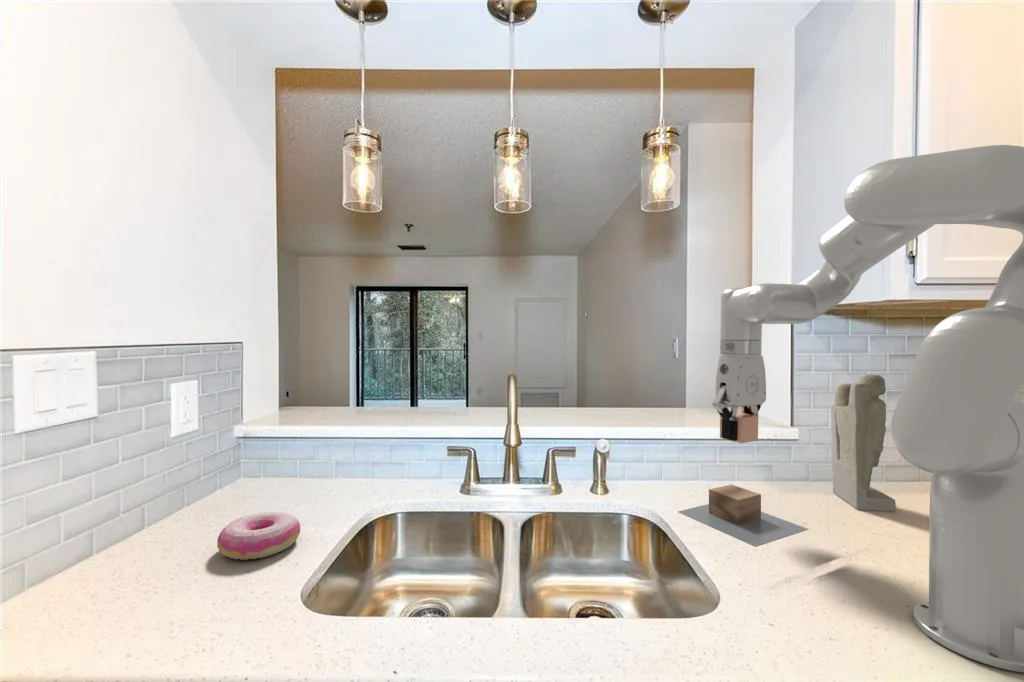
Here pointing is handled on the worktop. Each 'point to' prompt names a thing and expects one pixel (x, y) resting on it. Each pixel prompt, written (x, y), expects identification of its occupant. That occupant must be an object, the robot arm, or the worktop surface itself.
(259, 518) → the donut
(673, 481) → the worktop surface
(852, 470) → the sculpture
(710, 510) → the walnut base
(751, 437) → the terracotta cube
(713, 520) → the slate board
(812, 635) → the worktop surface
